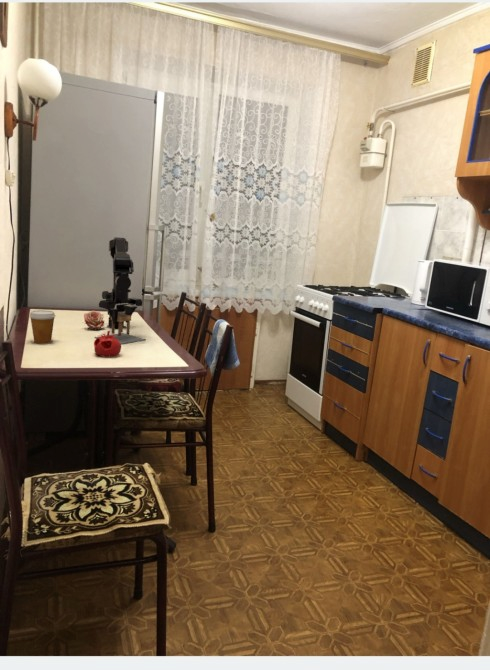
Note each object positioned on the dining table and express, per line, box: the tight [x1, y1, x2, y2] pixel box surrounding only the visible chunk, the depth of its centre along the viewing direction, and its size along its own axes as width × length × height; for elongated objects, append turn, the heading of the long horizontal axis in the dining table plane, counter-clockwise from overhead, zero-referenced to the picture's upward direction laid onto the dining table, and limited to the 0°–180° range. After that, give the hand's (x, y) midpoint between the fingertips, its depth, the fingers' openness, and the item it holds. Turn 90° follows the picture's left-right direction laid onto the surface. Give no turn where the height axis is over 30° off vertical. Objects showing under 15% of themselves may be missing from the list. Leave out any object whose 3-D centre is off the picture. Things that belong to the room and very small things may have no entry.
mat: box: [94, 332, 146, 345], centre depth 216 cm, size 15×15×1 cm
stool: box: [111, 314, 132, 336], centre depth 215 cm, size 6×6×8 cm
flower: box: [81, 310, 105, 330], centre depth 232 cm, size 10×9×8 cm
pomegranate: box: [93, 330, 122, 358], centre depth 190 cm, size 10×10×9 cm
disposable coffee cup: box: [29, 309, 56, 345], centre depth 201 cm, size 10×10×12 cm
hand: (120, 323), depth 215 cm, fingers closed on stool, 6 cm apart
